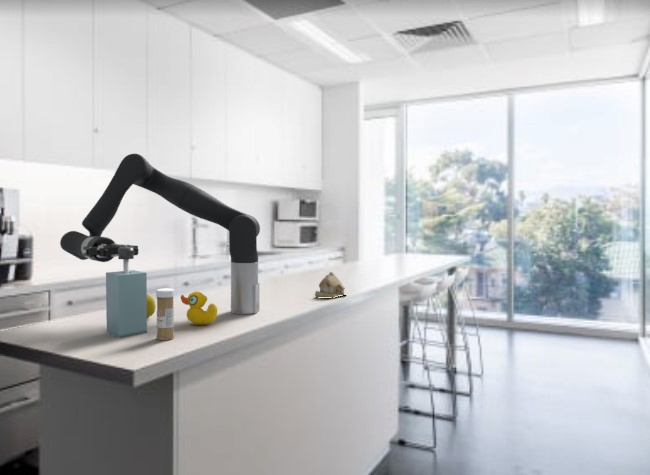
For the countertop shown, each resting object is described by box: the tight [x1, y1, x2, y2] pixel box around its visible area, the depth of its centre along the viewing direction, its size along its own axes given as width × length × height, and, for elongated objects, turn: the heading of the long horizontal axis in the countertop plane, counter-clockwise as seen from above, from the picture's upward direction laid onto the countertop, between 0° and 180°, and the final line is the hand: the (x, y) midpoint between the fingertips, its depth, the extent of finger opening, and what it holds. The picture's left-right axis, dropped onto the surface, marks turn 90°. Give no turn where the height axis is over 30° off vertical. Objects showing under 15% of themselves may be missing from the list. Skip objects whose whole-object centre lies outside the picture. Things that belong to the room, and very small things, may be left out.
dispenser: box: [105, 269, 148, 338], centre depth 140 cm, size 8×8×17 cm
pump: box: [117, 247, 135, 273], centre depth 138 cm, size 6×4×14 cm, turn 46°
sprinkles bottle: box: [155, 287, 175, 341], centre depth 134 cm, size 5×5×14 cm
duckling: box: [180, 291, 218, 326], centre depth 151 cm, size 11×5×10 cm, turn 82°
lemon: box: [147, 293, 157, 320], centre depth 157 cm, size 6×6×8 cm
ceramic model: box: [314, 271, 346, 298], centre depth 203 cm, size 14×11×10 cm
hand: (122, 252), depth 141 cm, fingers open, 8 cm apart
